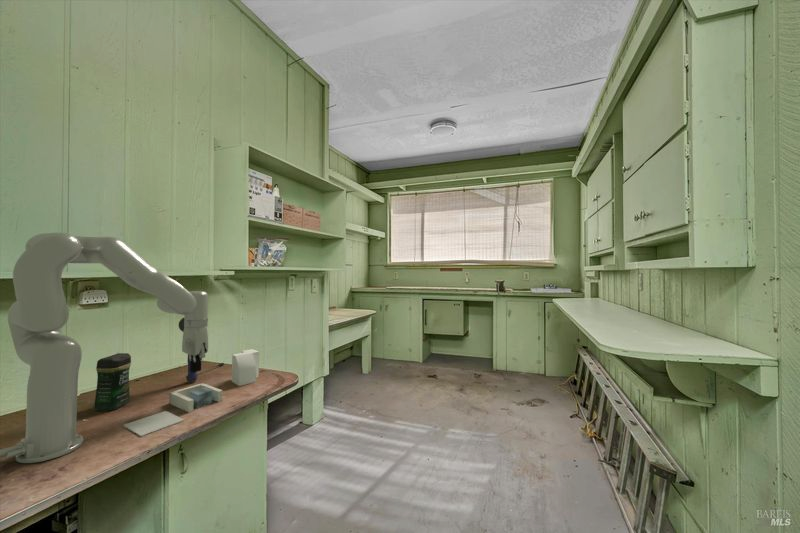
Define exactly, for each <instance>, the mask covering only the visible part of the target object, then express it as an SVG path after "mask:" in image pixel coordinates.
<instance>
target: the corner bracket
mask: <svg viewBox="0 0 800 533" xmlns="http://www.w3.org/2000/svg"><path fill="white" fill-rule="evenodd" d="M231 357H232V358H231V380H230V381H231V382H232V383H234V384H235V385H237V386H238V387H239V386H240V387H241V386H245V385H248V384H252V383H256V382H257V379H258V378H259V369H260V368H259V367H260V351H259V350H256V349H254V348H251V349H245V350H241V352H239V353H234V354H232V356H231ZM257 377H258V378H257Z"/></svg>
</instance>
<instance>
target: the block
mask: <svg viewBox="0 0 800 533" xmlns="http://www.w3.org/2000/svg"><path fill="white" fill-rule="evenodd" d="M190 398H191V399H193V400H194V404H193V406H194V407H193V408H196V409H199V407H200V408H202V406H203V407H205V406H204V405H206V406H208V405H211V404H212V402H213V400H212V390H209V389H207V388H201V389H198V390H195V391H191V393H190Z"/></svg>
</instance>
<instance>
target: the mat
mask: <svg viewBox="0 0 800 533" xmlns="http://www.w3.org/2000/svg"><path fill="white" fill-rule="evenodd" d="M184 421H185V419H184V418H181V417H180V416H177V415H176V414H174V413H172V412H169V411H167V410H163V411H161V412H158V413H155V414H152V415H149V416H146V417H143V418H139V419H137V420H134V421H131V422H128V423H124V424H123V427H124V428H126V429H127V428H128V429H127V430H129V431H131V432H133V434H135V433H136V435H137V436H139V437H140V436H141V437H145V436H147V435H146V434H148V435H150V434H152V433H151V432H153V433H155V432H154V431H156V432H158V431H161V430H163V428H164V429H166V428H169V427H171V426H174V425H177V424H180V423H182V422H184ZM168 426H169V427H168ZM160 429H161V430H160ZM157 430H158V431H157ZM149 433H150V434H149ZM144 435H145V436H144ZM141 437H140V438H141Z"/></svg>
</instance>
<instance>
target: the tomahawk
mask: <svg viewBox="0 0 800 533" xmlns="http://www.w3.org/2000/svg"><path fill="white" fill-rule="evenodd" d="M224 365H225V362H221V363H219V364H218V365H216V366H212V367H209V368H208V369H205V370H202V371H199V372H198V373H197V377H198V376H199V375H202V374H205V373H209V372H210V371H213V370H214V369H218V368H220V367H221V366H224ZM185 378H186V379H187V375H186V376H185Z"/></svg>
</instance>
